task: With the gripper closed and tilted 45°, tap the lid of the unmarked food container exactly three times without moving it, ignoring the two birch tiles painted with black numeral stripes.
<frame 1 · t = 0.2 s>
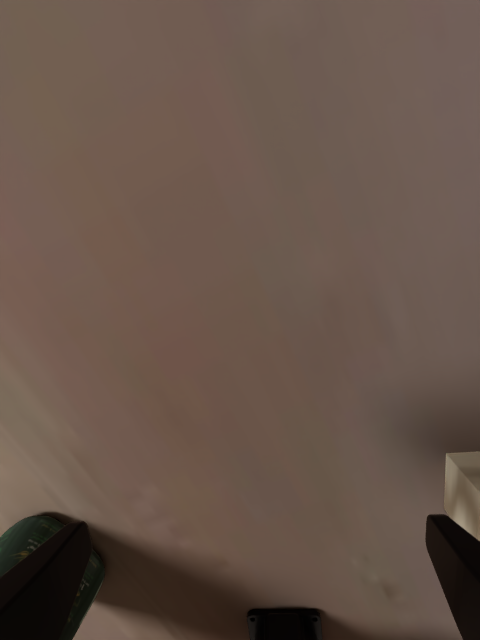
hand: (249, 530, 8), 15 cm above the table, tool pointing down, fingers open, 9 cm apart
coffee jar: (58, 551, 29), on the table
numbered tile one: (478, 478, 24), on the table
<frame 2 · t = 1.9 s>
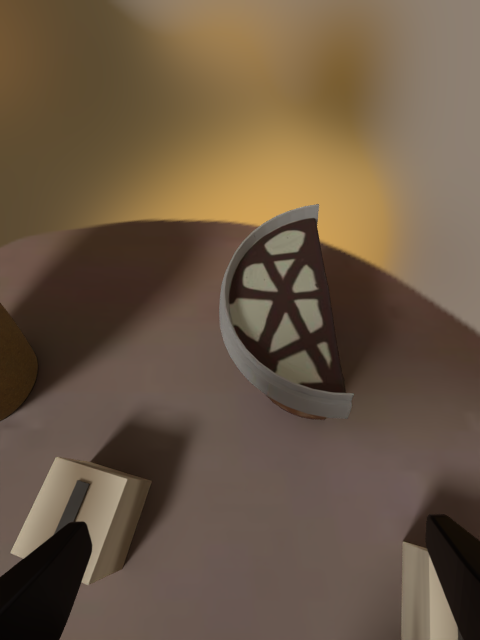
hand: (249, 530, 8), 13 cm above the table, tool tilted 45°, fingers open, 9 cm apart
numbered tile two: (451, 610, 17), on the table
food container: (276, 360, 25), on the table
numbered tile one: (105, 511, 21), on the table
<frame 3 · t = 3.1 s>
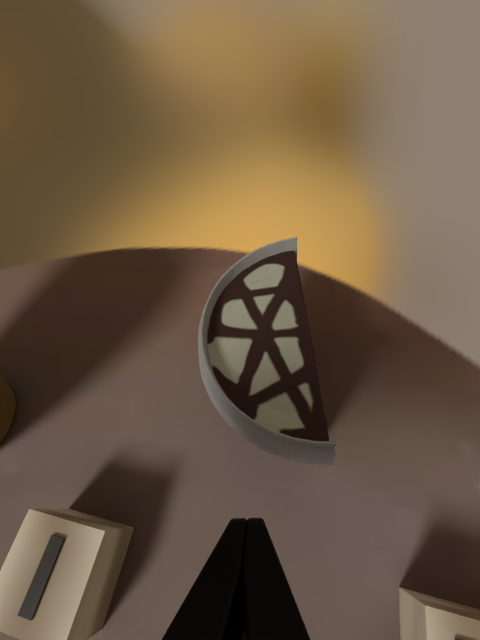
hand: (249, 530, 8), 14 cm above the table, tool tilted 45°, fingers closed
food container: (263, 391, 24), on the table
numbered tile one: (84, 563, 20), on the table
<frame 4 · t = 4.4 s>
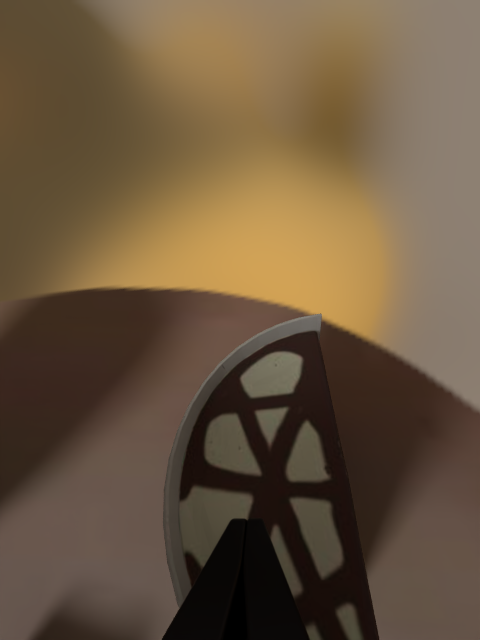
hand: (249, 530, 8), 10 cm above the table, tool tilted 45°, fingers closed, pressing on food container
food container: (269, 504, 18), on the table, touching gripper
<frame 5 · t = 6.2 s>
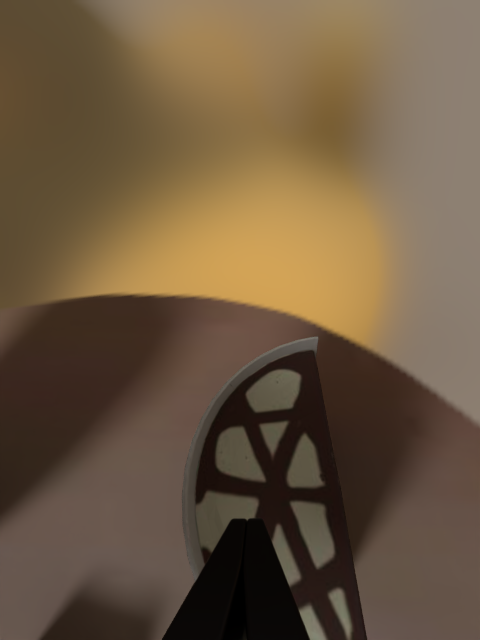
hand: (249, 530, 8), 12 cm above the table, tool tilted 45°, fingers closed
food container: (269, 497, 19), on the table
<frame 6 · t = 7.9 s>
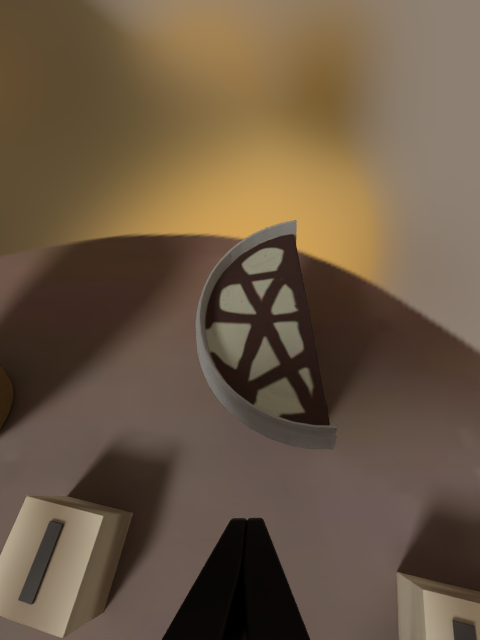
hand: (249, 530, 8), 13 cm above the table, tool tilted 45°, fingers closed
food container: (262, 379, 24), on the table
numbered tile one: (84, 549, 20), on the table
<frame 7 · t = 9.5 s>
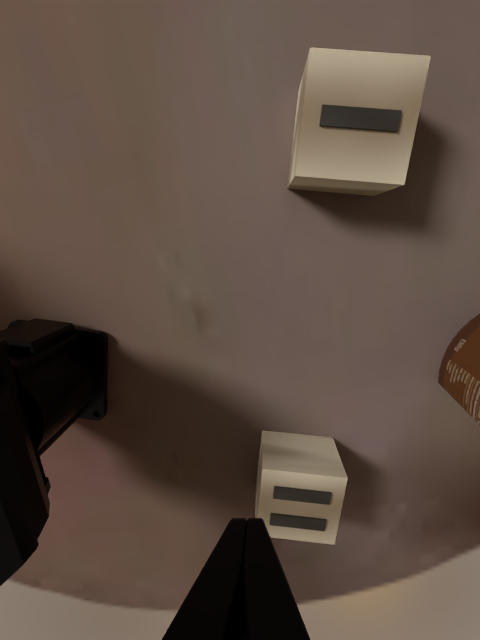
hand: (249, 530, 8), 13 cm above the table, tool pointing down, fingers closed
numbered tile two: (292, 462, 23), on the table
numbered tile one: (337, 145, 18), on the table
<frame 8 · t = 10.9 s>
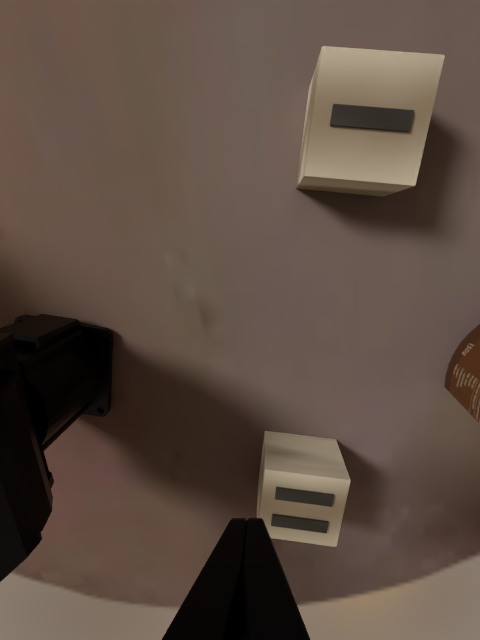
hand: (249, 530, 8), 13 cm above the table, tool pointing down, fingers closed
numbered tile two: (295, 463, 23), on the table
numbered tile one: (347, 144, 17), on the table
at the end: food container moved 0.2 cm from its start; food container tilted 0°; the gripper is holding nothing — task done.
